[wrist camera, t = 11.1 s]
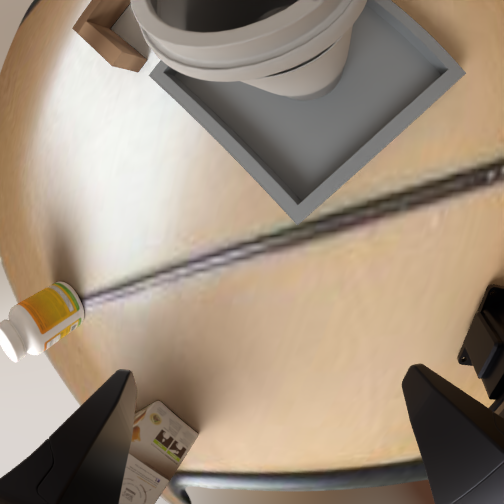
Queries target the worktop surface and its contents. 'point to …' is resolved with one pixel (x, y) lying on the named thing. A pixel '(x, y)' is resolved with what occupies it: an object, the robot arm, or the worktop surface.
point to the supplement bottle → (41, 321)
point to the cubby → (108, 34)
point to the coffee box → (154, 453)
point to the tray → (324, 110)
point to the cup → (253, 41)
